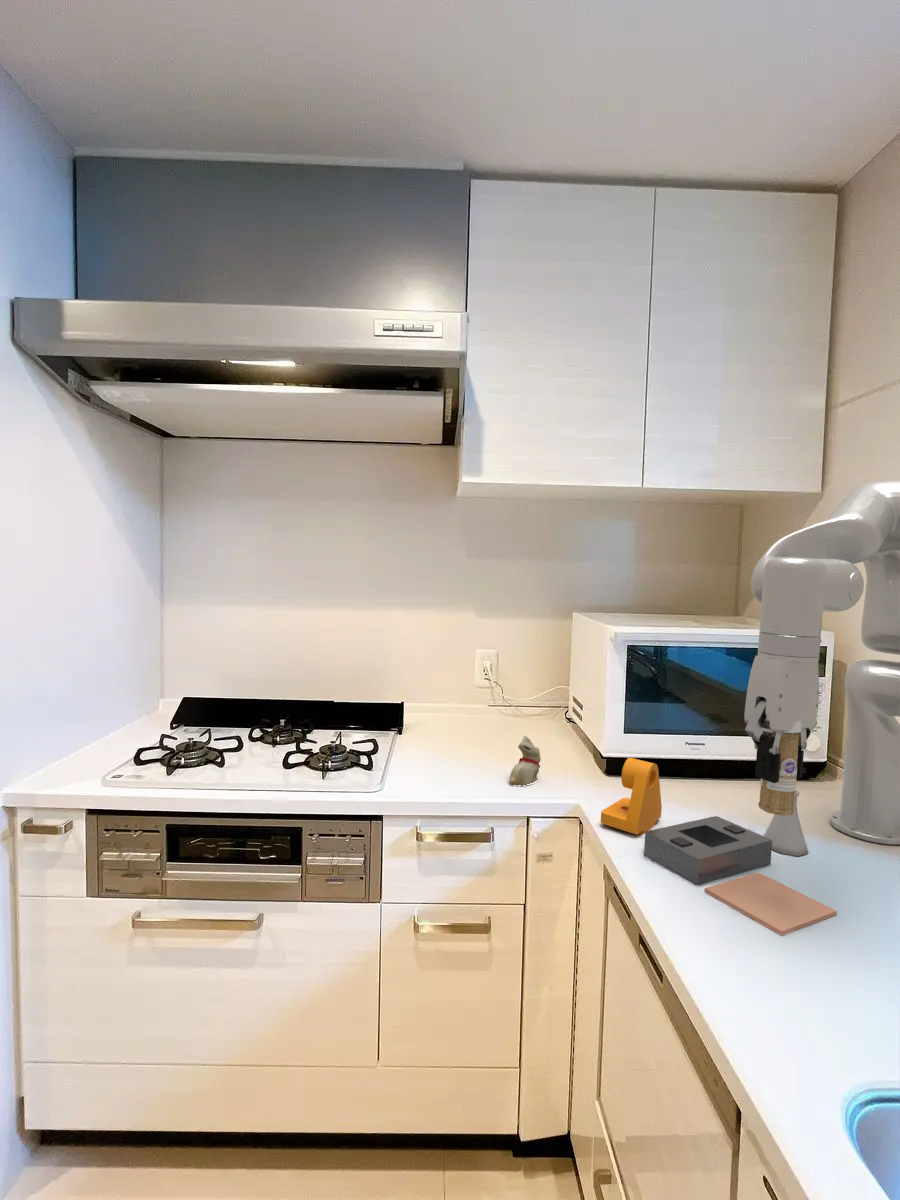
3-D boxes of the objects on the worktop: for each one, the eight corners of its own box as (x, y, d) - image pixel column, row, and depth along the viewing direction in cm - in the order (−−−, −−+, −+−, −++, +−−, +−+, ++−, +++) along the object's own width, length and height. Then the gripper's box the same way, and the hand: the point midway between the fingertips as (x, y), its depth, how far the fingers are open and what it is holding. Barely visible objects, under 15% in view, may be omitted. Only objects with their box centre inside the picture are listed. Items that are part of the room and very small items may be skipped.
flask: (766, 834, 115) (770, 779, 115) (812, 847, 111) (817, 790, 110) (756, 847, 109) (760, 789, 109) (803, 861, 105) (808, 801, 104)
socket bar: (714, 838, 112) (716, 814, 112) (770, 864, 103) (772, 838, 103) (643, 855, 104) (645, 830, 104) (697, 885, 95) (699, 858, 95)
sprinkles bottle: (778, 818, 87) (786, 720, 86) (750, 806, 91) (757, 712, 90) (801, 814, 89) (809, 718, 88) (773, 802, 93) (780, 710, 92)
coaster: (758, 875, 99) (758, 872, 99) (836, 915, 88) (836, 910, 88) (704, 892, 93) (704, 887, 93) (781, 935, 83) (782, 931, 83)
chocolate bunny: (546, 785, 136) (549, 738, 135) (512, 787, 134) (514, 739, 133) (535, 776, 141) (538, 731, 141) (502, 778, 139) (504, 732, 138)
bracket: (623, 810, 123) (627, 749, 123) (660, 821, 119) (664, 757, 118) (598, 826, 115) (602, 760, 114) (637, 839, 111) (641, 770, 110)
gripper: (799, 642, 96) (790, 763, 97) (724, 644, 88) (714, 776, 89) (851, 649, 89) (840, 779, 90) (774, 652, 81) (763, 794, 82)
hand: (778, 776), depth 90 cm, fingers closed on sprinkles bottle, 4 cm apart
